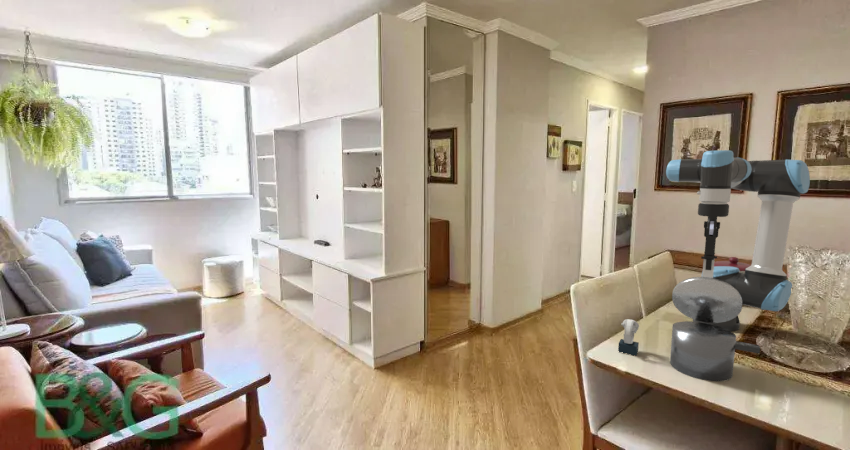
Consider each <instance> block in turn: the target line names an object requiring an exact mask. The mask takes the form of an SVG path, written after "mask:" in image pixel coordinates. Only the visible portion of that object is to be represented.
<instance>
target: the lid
mask: <svg viewBox="0 0 850 450" xmlns="http://www.w3.org/2000/svg"><path fill="white" fill-rule="evenodd" d="M671 300H672V303H673V305H674V307H675V308H676V309H677V311H679V312H680V313H681V314H682V315H684V316H686V317H687V318H689V319H692V320H693V319H694V320H697V321H701V322H707V323H720V322H726V321H729V320H731V319H733V318H735V317H736V316H738V317H739V315H740V313H741V312H742V310H743V304H742V298H741V295H740V294H739V292H738V291H737V290H736V289H735V288H734V287H733V286H731V285H730V284H728V283H726V282H724V281H721V280H718V279H715V278H710V277H702V276H694V277H688V278H686V279H682V280H681V281H680V282H678V283H677V284H676V285H675V286H674V288H673V289H672V295H671Z"/></svg>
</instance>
